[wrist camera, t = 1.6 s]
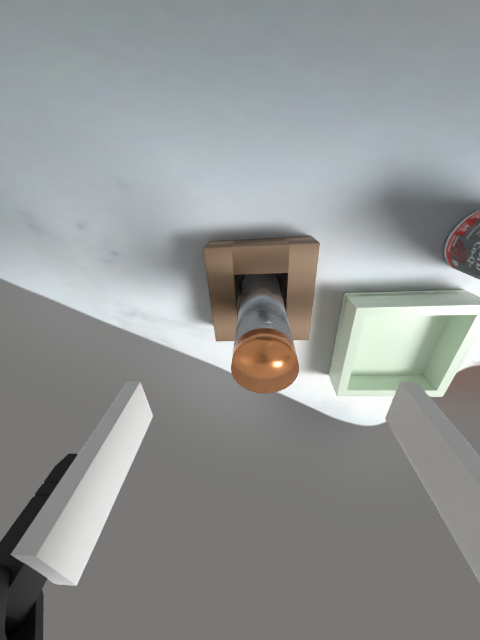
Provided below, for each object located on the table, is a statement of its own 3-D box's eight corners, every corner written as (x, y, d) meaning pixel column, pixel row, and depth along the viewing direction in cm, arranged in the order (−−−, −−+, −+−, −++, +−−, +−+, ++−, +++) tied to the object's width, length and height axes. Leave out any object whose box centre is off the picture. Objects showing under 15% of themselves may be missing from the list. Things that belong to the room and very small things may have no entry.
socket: (209, 241, 23) (203, 248, 20) (312, 236, 22) (319, 243, 19) (219, 326, 28) (215, 341, 25) (303, 325, 27) (308, 339, 24)
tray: (344, 292, 24) (356, 307, 21) (464, 289, 24) (494, 304, 21) (328, 375, 31) (336, 395, 28) (423, 375, 30) (442, 396, 27)
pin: (241, 269, 24) (228, 342, 13) (279, 268, 24) (301, 342, 12) (242, 303, 26) (233, 393, 15) (278, 302, 26) (296, 393, 14)
